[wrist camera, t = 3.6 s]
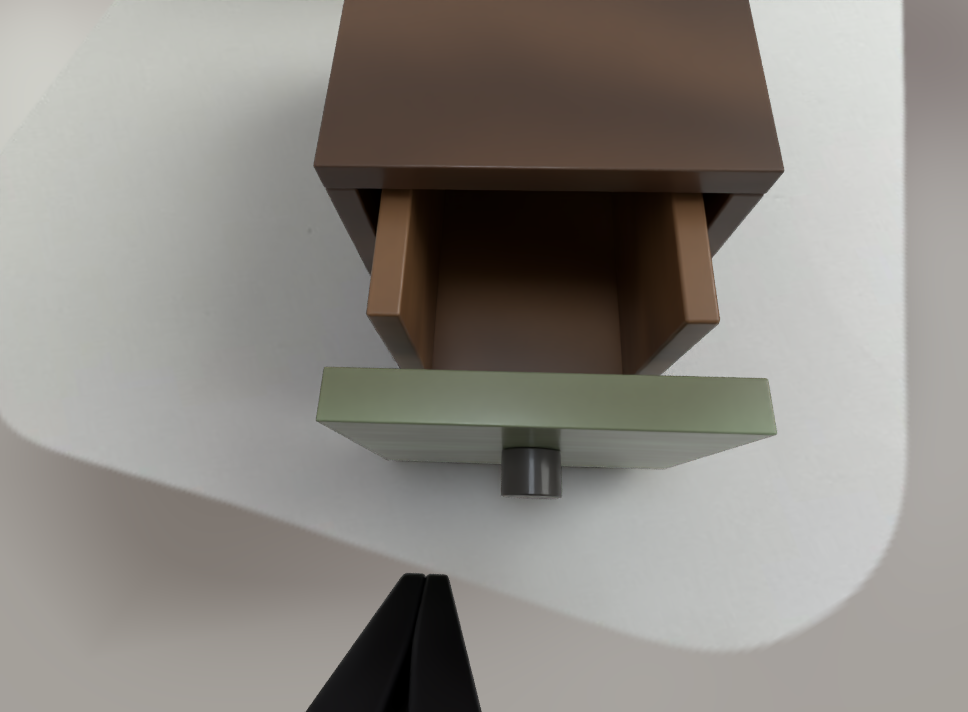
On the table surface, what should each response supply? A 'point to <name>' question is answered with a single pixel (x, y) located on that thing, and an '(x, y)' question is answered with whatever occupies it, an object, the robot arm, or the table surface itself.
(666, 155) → the cabinet
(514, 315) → the drawer
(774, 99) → the table surface
